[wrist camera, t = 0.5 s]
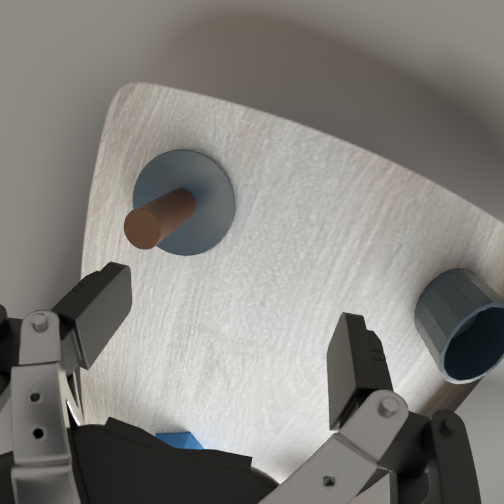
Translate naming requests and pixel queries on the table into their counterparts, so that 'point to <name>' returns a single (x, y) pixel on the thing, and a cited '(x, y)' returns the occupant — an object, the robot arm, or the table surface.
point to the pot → (462, 325)
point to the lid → (181, 204)
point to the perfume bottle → (179, 440)
